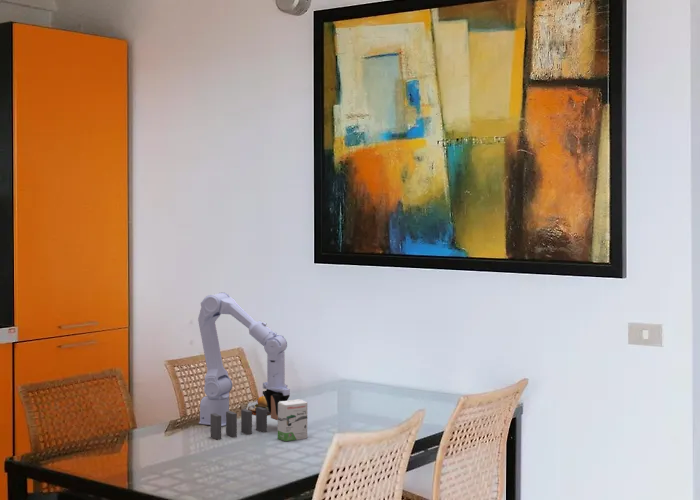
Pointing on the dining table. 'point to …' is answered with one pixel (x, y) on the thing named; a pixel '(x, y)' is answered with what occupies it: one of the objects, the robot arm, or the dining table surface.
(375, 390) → the dining table surface
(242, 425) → the tile
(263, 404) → the burger
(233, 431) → the tile
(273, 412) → the tile
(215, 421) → the tile
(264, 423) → the tile
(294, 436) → the ink box
